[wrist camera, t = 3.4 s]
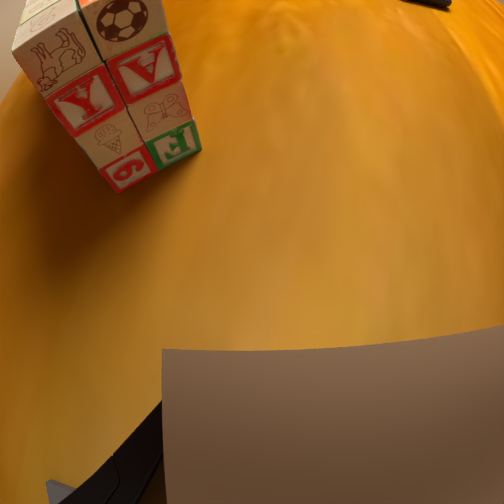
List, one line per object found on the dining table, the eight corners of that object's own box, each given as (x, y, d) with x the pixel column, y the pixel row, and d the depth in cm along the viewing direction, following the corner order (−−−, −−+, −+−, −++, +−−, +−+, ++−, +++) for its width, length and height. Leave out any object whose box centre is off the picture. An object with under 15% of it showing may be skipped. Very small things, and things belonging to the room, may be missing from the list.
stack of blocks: (78, 54, 25) (36, -31, 14) (130, 28, 26) (99, -62, 14) (118, 197, 19) (6, 50, 7) (206, 151, 19) (155, -29, 8)
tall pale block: (339, 441, 13) (476, 580, 2) (246, 445, 14) (186, 623, 2) (339, 353, 15) (515, 322, 3) (245, 357, 15) (162, 348, 3)
